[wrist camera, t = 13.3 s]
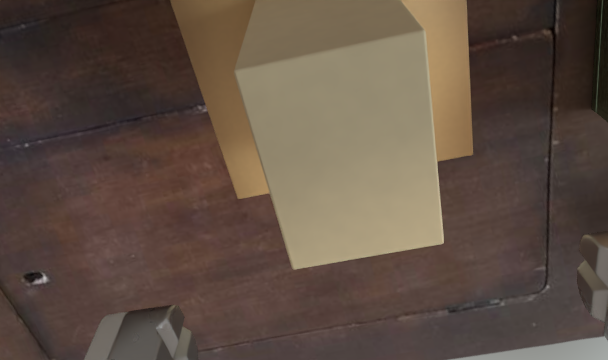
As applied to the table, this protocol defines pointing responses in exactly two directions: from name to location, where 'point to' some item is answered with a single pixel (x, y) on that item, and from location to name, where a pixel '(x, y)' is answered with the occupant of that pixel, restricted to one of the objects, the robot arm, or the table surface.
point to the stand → (229, 107)
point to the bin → (601, 62)
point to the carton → (342, 126)
